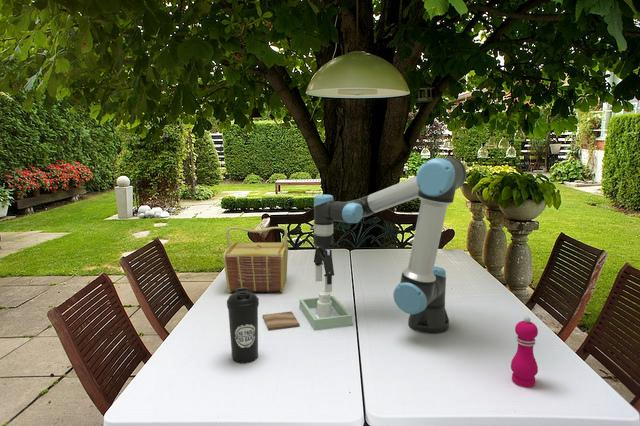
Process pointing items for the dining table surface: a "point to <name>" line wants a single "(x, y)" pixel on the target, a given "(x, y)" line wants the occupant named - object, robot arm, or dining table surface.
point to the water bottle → (243, 325)
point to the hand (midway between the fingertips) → (323, 286)
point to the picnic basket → (256, 264)
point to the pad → (280, 321)
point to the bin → (327, 322)
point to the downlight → (324, 305)
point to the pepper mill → (525, 354)
